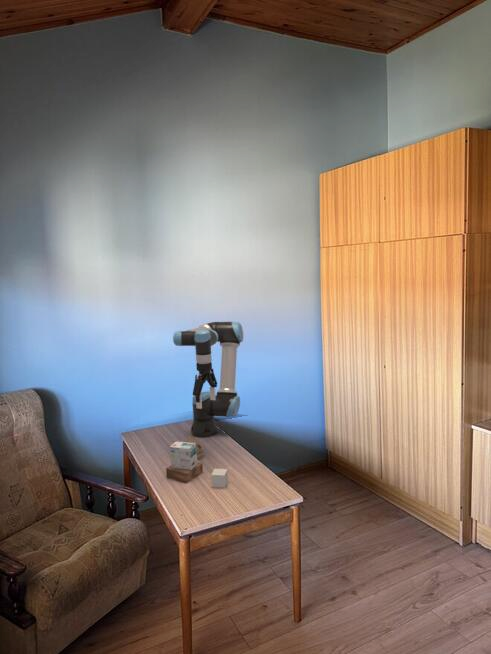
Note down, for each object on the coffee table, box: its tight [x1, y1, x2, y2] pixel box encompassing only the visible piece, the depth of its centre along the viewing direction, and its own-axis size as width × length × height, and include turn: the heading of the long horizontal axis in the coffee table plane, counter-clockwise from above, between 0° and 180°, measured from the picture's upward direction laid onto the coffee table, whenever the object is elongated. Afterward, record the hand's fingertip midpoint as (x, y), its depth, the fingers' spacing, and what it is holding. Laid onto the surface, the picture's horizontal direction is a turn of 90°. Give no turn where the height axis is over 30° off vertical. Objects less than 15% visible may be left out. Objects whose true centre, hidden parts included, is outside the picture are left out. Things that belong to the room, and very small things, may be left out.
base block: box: [165, 462, 204, 484], centre depth 235 cm, size 12×12×5 cm
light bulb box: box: [169, 441, 198, 470], centre depth 234 cm, size 11×7×11 cm, turn 71°
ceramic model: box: [184, 435, 205, 461], centre depth 257 cm, size 14×11×10 cm
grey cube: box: [210, 468, 229, 489], centre depth 225 cm, size 6×6×6 cm
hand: (206, 404), depth 248 cm, fingers open, 13 cm apart
